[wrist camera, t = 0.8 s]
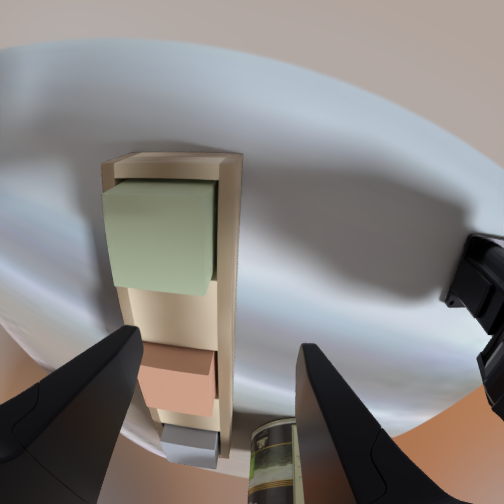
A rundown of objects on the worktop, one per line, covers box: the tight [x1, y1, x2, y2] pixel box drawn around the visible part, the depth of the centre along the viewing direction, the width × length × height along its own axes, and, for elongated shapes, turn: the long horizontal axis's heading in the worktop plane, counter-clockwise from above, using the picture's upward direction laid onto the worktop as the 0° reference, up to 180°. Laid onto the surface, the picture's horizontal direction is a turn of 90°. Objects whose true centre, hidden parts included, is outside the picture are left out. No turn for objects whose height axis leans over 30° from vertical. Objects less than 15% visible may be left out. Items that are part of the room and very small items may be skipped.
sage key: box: [101, 178, 219, 296], centre depth 15 cm, size 5×5×4 cm
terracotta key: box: [137, 341, 218, 417], centre depth 20 cm, size 5×5×4 cm
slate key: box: [160, 423, 220, 469], centre depth 25 cm, size 5×5×4 cm
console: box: [101, 152, 243, 459], centre depth 22 cm, size 7×29×4 cm, turn 177°
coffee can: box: [248, 418, 304, 504], centre depth 24 cm, size 10×10×14 cm
